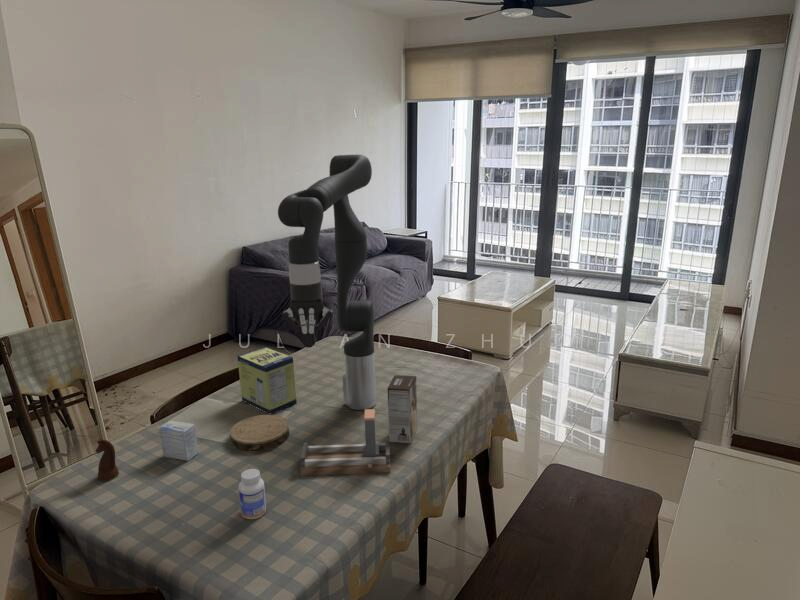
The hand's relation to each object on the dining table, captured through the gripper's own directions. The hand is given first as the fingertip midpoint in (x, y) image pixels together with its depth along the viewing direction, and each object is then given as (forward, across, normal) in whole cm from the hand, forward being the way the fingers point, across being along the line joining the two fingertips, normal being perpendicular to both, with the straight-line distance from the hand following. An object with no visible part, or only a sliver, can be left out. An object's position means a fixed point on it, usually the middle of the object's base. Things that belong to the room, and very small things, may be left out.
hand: (309, 346), depth 140 cm
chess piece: (+29, +50, +10) cm, 59 cm away
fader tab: (+27, -15, +7) cm, 32 cm away
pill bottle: (+29, +11, +26) cm, 41 cm away
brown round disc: (+30, +16, -7) cm, 35 cm away
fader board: (+29, -8, +8) cm, 31 cm away
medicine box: (+29, +35, +1) cm, 46 cm away
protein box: (+29, +18, -30) cm, 45 cm away
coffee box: (+29, -23, -6) cm, 38 cm away
